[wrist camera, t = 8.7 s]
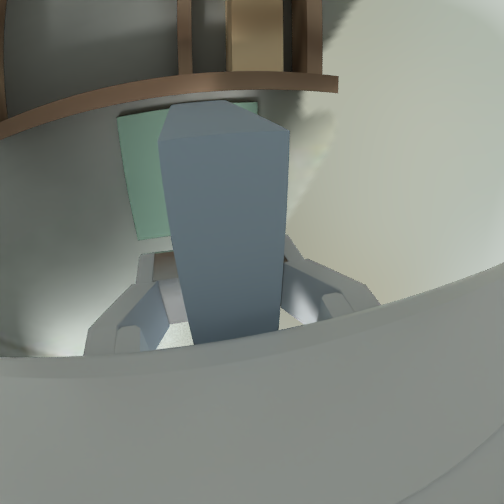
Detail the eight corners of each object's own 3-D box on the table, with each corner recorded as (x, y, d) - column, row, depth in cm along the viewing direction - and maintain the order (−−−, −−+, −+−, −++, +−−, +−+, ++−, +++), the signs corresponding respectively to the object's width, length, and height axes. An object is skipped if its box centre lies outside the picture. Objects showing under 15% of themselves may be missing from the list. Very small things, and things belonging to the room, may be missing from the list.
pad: (256, 221, 22) (258, 223, 22) (138, 237, 21) (138, 240, 20) (255, 101, 17) (257, 102, 17) (117, 117, 16) (116, 117, 15)
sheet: (234, 300, 15) (269, 419, 10) (197, 306, 15) (218, 429, 9) (224, 99, 10) (289, 130, 4) (171, 104, 9) (157, 141, 4)
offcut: (270, 73, 17) (283, 72, 15) (225, 73, 16) (232, 72, 14) (270, -4, 13) (282, -14, 11) (224, -7, 13) (231, -18, 11)
